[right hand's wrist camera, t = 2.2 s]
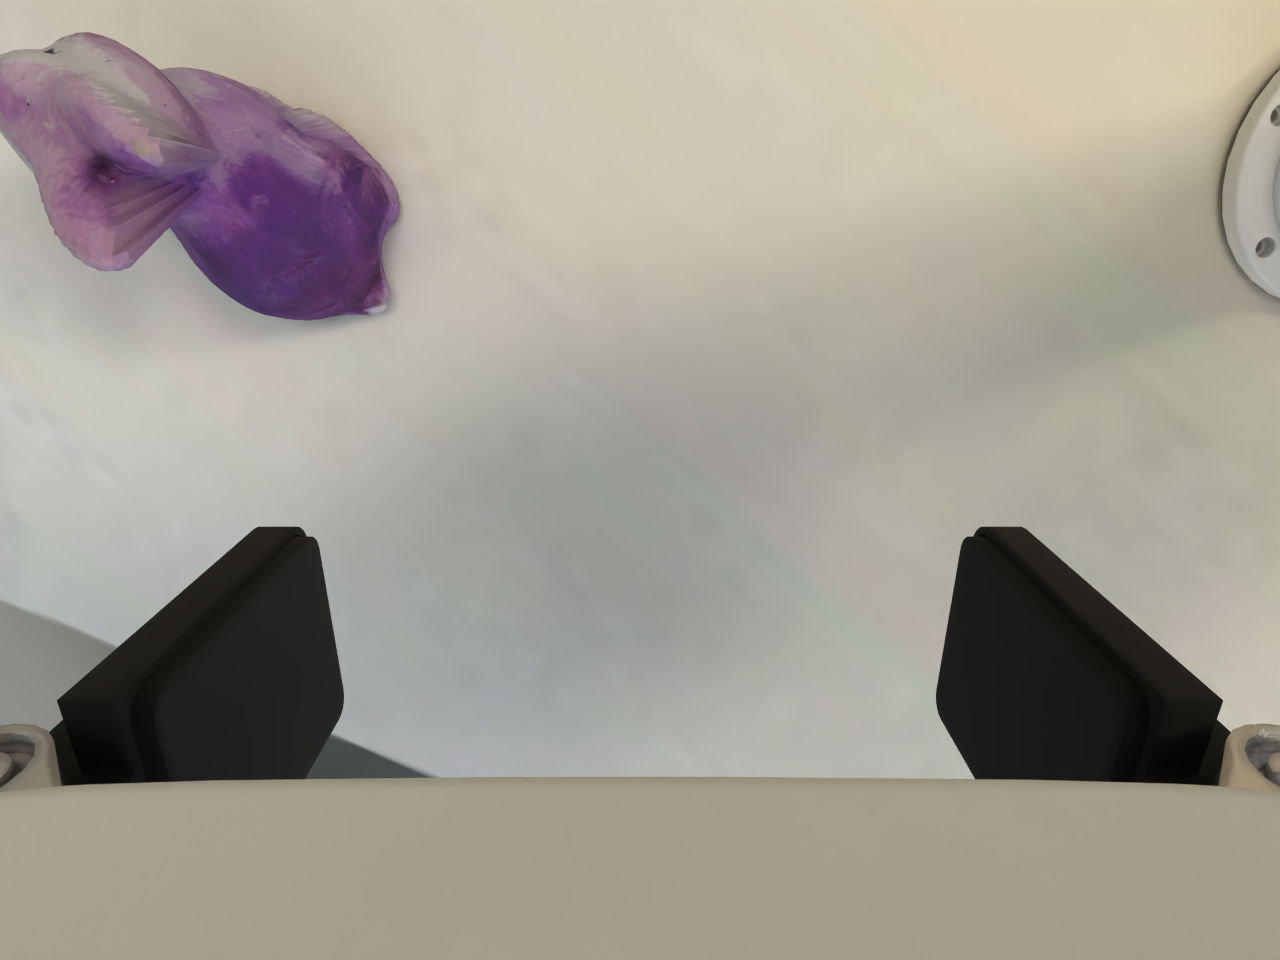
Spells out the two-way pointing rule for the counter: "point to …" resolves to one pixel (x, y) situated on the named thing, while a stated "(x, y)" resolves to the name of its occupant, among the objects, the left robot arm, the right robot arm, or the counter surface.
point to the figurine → (199, 177)
